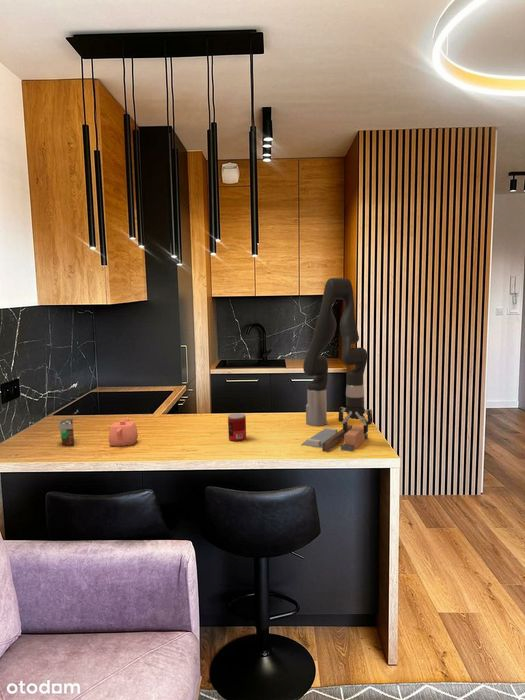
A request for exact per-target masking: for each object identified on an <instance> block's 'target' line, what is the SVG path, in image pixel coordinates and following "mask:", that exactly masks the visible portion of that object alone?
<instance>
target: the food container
mask: <svg viewBox="0 0 525 700" xmlns="http://www.w3.org/2000/svg"><path fill="white" fill-rule="evenodd" d="M57 428H58V429H59V430H60V431H59V432H60V438H61V444H62V446H65V447H74V446H75V436H74V435H75V434H74V433H75V432H74V421H73V417H70V418H65V419H64V418H63V419H62V420H60V421H59V422H58V425H57Z"/></svg>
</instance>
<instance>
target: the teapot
mask: <svg viewBox="0 0 525 700" xmlns="http://www.w3.org/2000/svg"><path fill="white" fill-rule="evenodd" d="M138 435H139V434H138V429H137V425H136V422H135V421H129V417H128V416H127V417H126V418H125V419H122V420H119V421H116V422H114V423H113V424H112V425H111V426H109V433H108V443H109V445H110V446H115V447H118V446H119V447H121V446H126V445H129V446H133V445H135V444H136V442H137V440H138Z"/></svg>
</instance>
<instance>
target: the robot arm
mask: <svg viewBox="0 0 525 700" xmlns="http://www.w3.org/2000/svg"><path fill="white" fill-rule="evenodd" d="M323 289H324V290H323V294H322V301H321V306H320V310H319V313H318V316H317V321H316V324H315V328H314V331H313V335H312V339H311V341H310V345H309V347H308V350H307V353H306V354H305V358H304V360H303V365H302V366H303V369H302V370H303V373H304V374H305V375H306V376H308V377H314V379H313V380H311V381H309V382H308V383H307V384H306V385H307V387H306V390H307V393H306V394H307V395H306V396H307V398H306V399H307V404H306V405H305V424H306V425H309V426H313V427H322V426H325V425H327V424H328V423H327V421H328V419H327V414H328V413H327V409H328V408H327V405H328V404H327V403H328V402H327V386H328V378H329V377H328V375H329V363H328V360H327V357H325V356H324V355H321V353H322V351H323V350H324V349H325V348H326V347H327V346H328V345H329V344H330V343H331V342H332V340H333V339H334V336H335V333H336V330H337V321H336V317H335V315H334V313H333V312H334V311H333V303H334V300H343V304H344V305H343V306H344V309H343V313H342V316H341V318H340V321H339V330H340V336H341V340H342V341H341V342H342V343H341V344H342V347H341V348H342V351H341V360H342V362H343V364H345V365H346V366H352V365H353V366H355V367H354V368H353V369H350V370H348V371H346V376H345V377H346V385H345V386H346V387H345V407H344V406H340V407H339V408H338V419H337V420H338V422H341V423H342V429H343V430H344V432H347V431H348V425H349V424H348V421H349V419H352V420H353V419H355V420H360V421H361V423H362V424H363V427H364V434H368V433H369V425H372V424H373V420H374V419H373V410H372V409H371V408H370V409H365V386H364V374H365V369H366V365H367V362H368V359H369V357H368V356H369V355H368V351H367V350H366V349H365V347H351V345H354V344H356V343H358V342H360V341H359V340H360V336H359V331H358V327H357V323H356V317H355V316H356V315H355V301H354V298H355V297H354V290H353V285H352V282H351V280H350V279H349V278H345V277H344V278H342V277H331V278H328V279H327V281H326V282H325V285H324V288H323ZM345 412H346V416H345V417H344V413H345ZM364 414H366V416H367V418H366V416H365V415H364Z"/></svg>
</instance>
